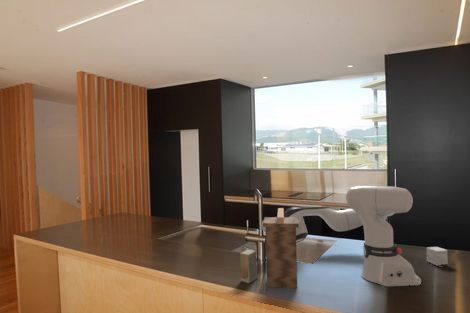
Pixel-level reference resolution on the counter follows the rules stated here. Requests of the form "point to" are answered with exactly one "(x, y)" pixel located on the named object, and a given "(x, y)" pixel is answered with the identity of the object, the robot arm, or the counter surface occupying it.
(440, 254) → the skincare box
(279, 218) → the bar
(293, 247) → the pedestal
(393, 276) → the robot arm
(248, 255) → the skincare box
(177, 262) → the counter surface
